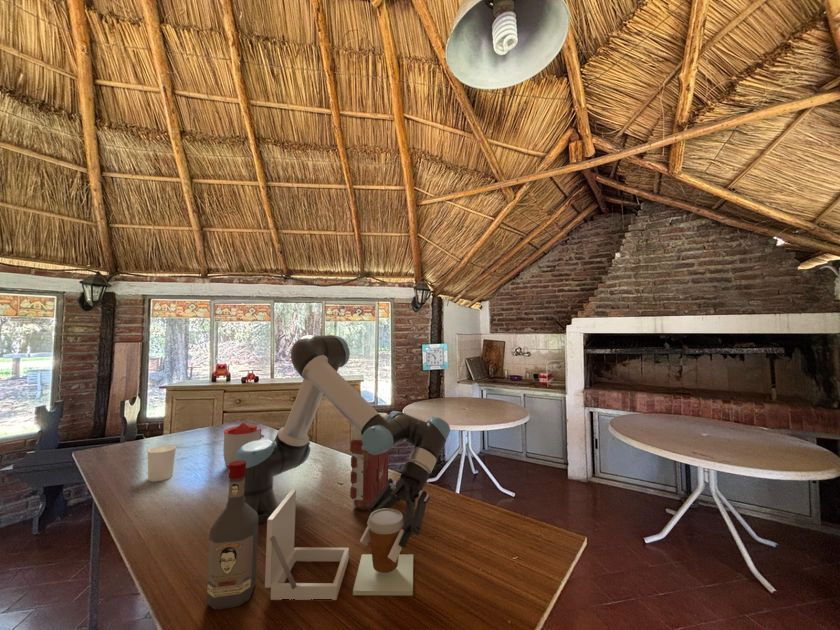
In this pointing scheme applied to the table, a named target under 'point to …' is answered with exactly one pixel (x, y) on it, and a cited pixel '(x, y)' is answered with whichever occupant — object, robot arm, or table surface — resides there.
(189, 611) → the table surface
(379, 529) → the disposable coffee cup
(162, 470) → the candle holder
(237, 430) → the citrus juicer
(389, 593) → the board
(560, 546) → the table surface
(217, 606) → the liquor
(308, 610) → the table surface
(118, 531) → the table surface
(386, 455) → the first aid kit
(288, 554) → the access hatch
